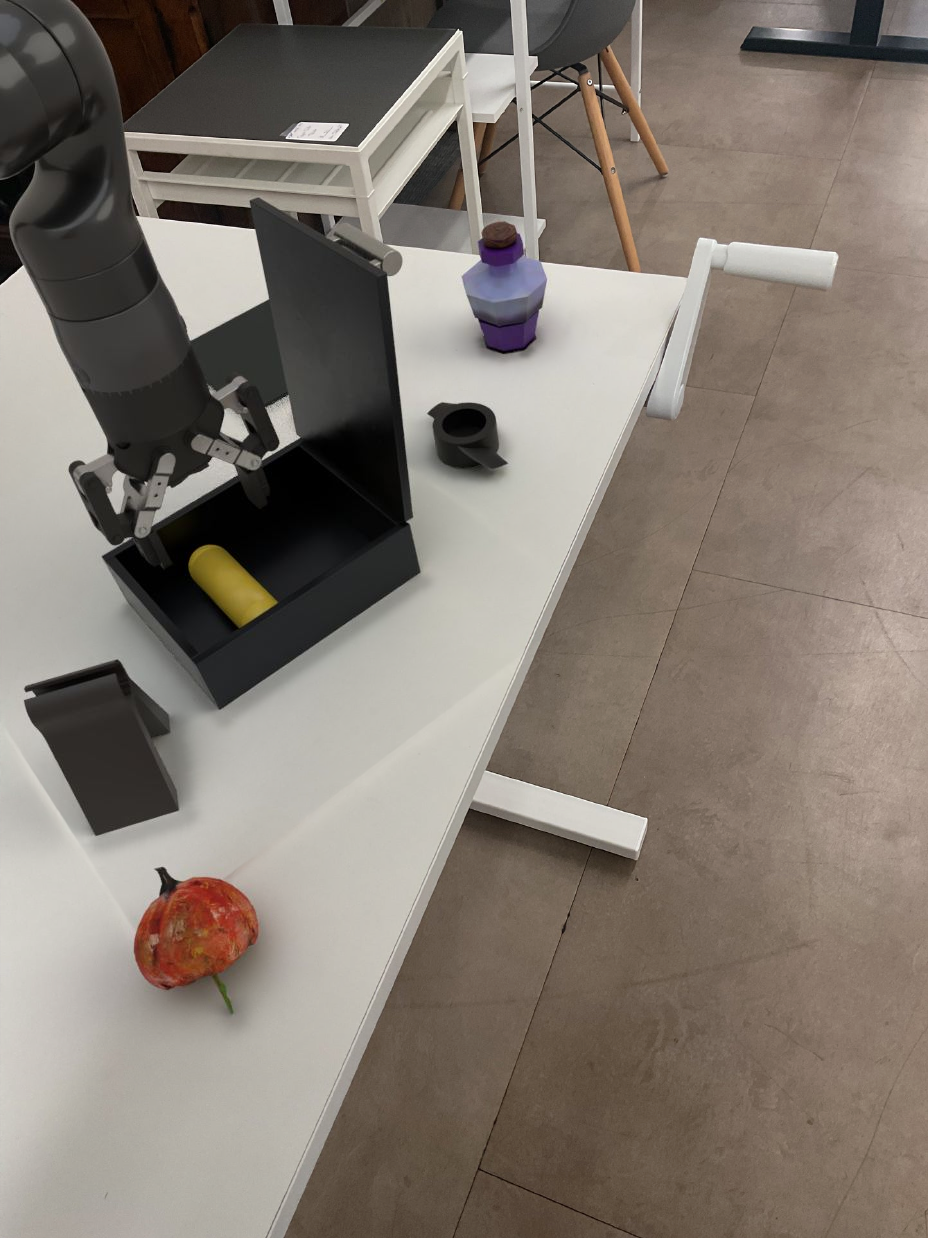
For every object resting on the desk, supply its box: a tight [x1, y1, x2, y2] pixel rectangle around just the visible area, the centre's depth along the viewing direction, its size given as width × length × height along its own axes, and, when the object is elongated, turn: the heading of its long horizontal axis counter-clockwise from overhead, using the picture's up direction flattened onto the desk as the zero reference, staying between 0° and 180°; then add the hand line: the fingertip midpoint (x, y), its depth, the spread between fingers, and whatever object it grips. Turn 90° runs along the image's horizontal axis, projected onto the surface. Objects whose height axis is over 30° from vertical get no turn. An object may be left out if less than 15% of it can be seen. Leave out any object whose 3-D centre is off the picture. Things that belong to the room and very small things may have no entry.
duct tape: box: [426, 401, 509, 470], centre depth 92 cm, size 8×10×3 cm
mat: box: [190, 298, 289, 408], centre depth 107 cm, size 16×16×1 cm
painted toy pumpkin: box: [133, 866, 259, 1015], centre depth 62 cm, size 7×7×10 cm
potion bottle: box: [460, 221, 548, 355], centre depth 99 cm, size 9×9×12 cm
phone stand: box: [23, 658, 180, 837], centre depth 70 cm, size 9×6×12 cm, turn 15°
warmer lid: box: [249, 197, 414, 522], centre depth 76 cm, size 20×16×5 cm
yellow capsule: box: [189, 545, 278, 628], centre depth 81 cm, size 4×12×4 cm, turn 40°
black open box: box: [101, 437, 422, 711], centre depth 82 cm, size 20×16×6 cm
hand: (211, 531), depth 76 cm, fingers open, 8 cm apart
